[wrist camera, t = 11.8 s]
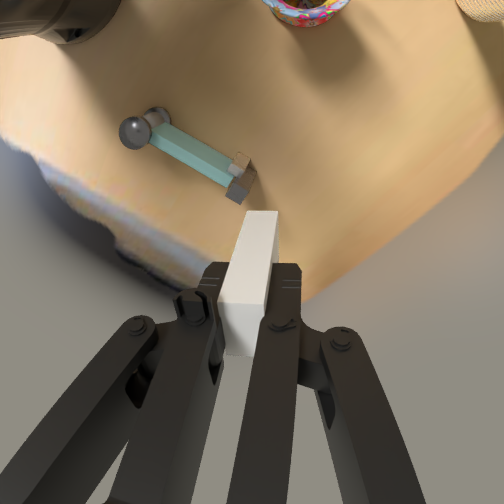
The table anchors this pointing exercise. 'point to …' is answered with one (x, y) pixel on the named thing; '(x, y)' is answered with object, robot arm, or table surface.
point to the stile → (240, 178)
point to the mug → (305, 10)
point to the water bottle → (483, 9)
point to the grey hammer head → (139, 129)
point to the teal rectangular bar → (189, 150)
